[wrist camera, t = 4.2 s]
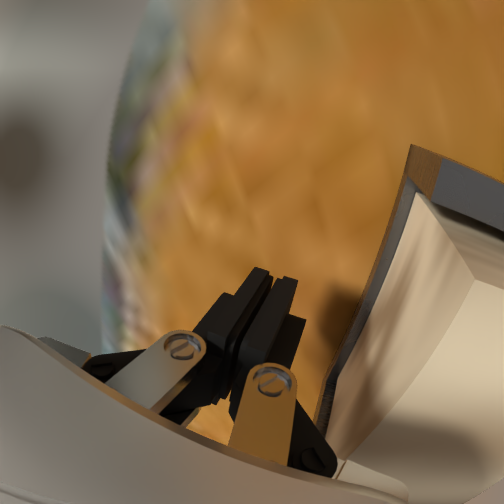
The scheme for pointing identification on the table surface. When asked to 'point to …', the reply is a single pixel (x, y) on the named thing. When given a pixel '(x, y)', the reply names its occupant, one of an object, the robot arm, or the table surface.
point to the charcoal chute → (413, 180)
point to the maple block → (430, 363)
